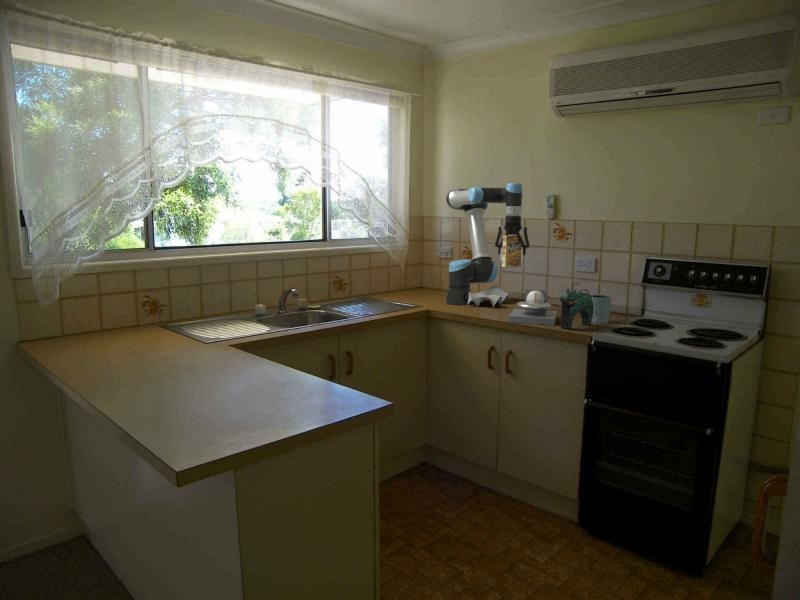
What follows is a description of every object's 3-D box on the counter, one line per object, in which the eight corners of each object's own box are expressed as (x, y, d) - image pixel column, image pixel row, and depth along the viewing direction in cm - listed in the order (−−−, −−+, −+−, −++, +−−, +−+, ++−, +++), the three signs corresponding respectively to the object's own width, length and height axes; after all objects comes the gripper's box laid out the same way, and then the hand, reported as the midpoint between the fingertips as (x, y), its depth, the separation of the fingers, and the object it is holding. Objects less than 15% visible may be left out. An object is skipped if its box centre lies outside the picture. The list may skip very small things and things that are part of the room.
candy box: (505, 267, 282) (506, 235, 280) (501, 266, 286) (502, 235, 284) (521, 266, 285) (522, 235, 283) (517, 266, 289) (518, 235, 287)
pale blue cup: (613, 321, 268) (615, 296, 266) (604, 324, 260) (606, 298, 259) (592, 318, 275) (594, 293, 273) (583, 321, 267) (584, 296, 265)
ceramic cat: (566, 331, 247) (569, 284, 244) (554, 328, 252) (556, 282, 249) (595, 325, 259) (598, 281, 255) (583, 323, 264) (585, 279, 261)
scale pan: (515, 310, 265) (515, 305, 264) (519, 305, 279) (519, 300, 279) (549, 312, 260) (549, 307, 260) (551, 306, 275) (551, 302, 274)
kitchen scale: (508, 322, 264) (509, 294, 262) (514, 314, 283) (515, 288, 281) (554, 325, 258) (555, 296, 256) (556, 317, 277) (557, 290, 275)
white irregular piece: (499, 309, 299) (500, 291, 297) (464, 307, 306) (464, 288, 305) (511, 302, 321) (511, 285, 320) (478, 300, 329) (478, 283, 327)
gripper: (489, 215, 282) (488, 261, 285) (535, 215, 275) (533, 263, 279) (491, 215, 289) (490, 260, 292) (537, 215, 282) (535, 261, 286)
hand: (511, 261), depth 285 cm, fingers closed on candy box, 9 cm apart
